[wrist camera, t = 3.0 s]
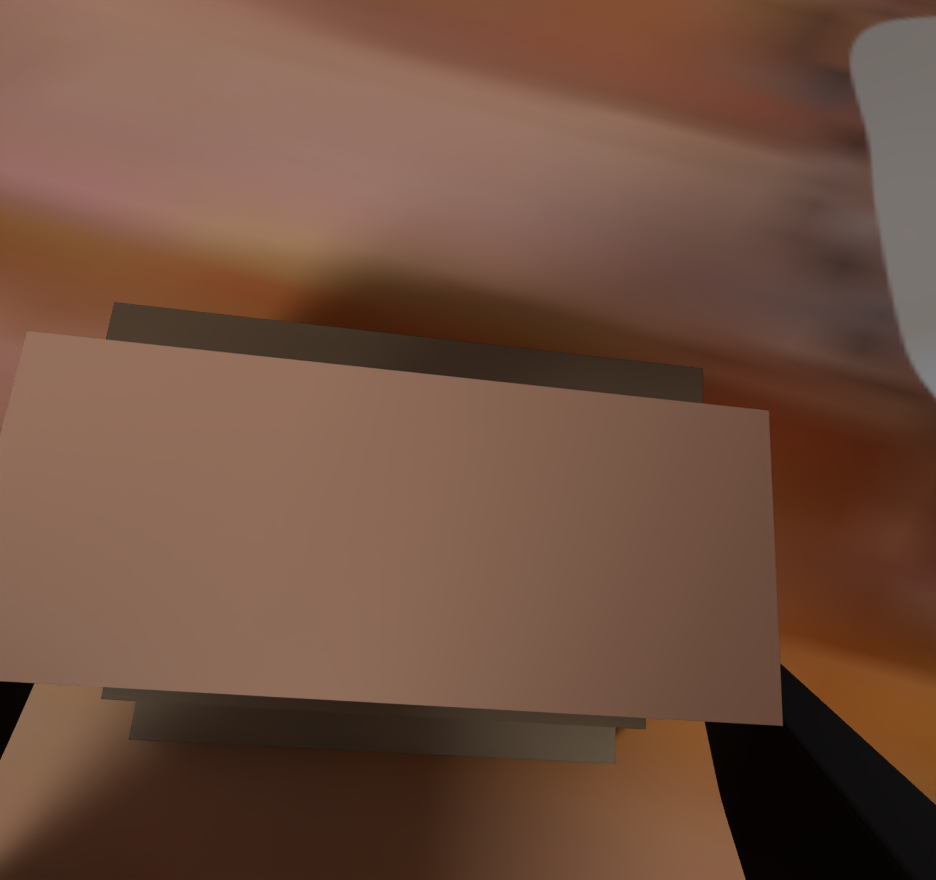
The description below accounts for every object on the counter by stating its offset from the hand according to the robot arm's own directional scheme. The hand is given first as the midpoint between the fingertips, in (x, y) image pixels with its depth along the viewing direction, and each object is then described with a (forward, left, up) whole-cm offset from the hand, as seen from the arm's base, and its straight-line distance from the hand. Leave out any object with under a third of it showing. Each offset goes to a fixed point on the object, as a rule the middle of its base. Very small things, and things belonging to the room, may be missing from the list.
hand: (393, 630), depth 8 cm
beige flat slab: (+1, 0, -8) cm, 8 cm away
